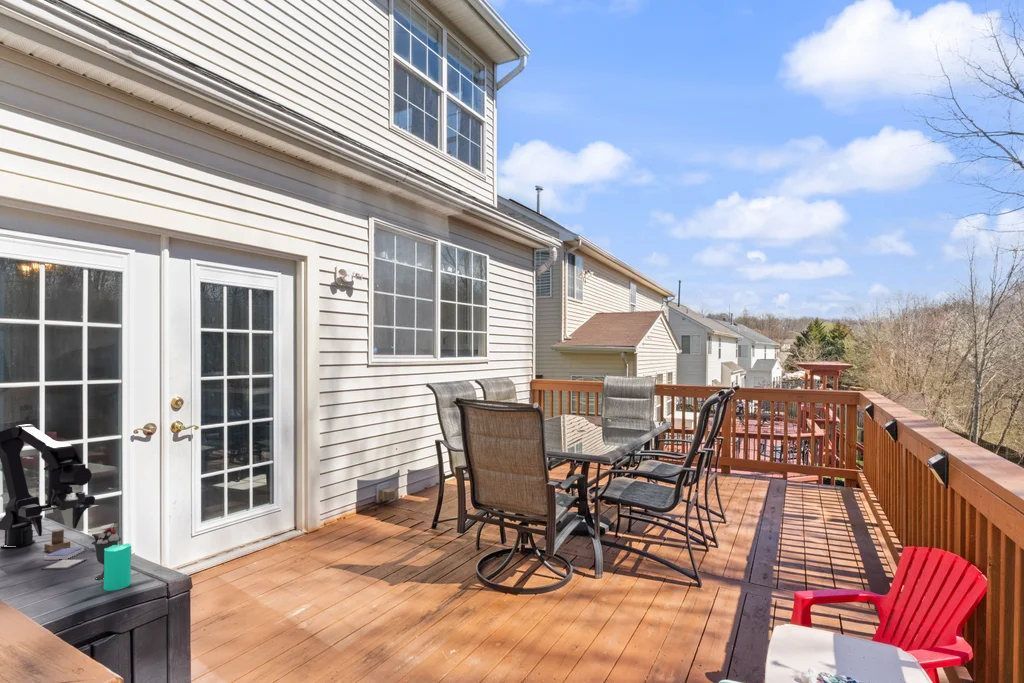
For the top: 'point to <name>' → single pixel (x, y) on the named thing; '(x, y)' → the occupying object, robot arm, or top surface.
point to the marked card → (64, 564)
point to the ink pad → (63, 554)
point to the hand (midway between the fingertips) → (57, 532)
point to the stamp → (57, 542)
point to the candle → (117, 567)
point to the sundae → (105, 544)
